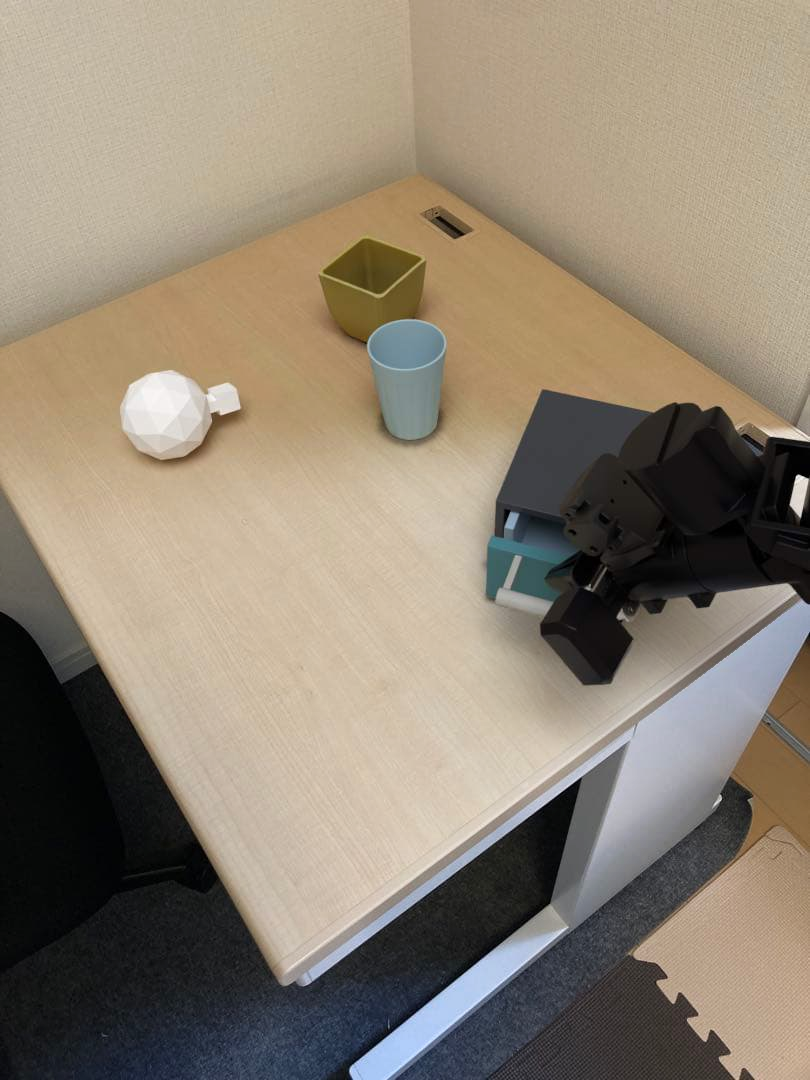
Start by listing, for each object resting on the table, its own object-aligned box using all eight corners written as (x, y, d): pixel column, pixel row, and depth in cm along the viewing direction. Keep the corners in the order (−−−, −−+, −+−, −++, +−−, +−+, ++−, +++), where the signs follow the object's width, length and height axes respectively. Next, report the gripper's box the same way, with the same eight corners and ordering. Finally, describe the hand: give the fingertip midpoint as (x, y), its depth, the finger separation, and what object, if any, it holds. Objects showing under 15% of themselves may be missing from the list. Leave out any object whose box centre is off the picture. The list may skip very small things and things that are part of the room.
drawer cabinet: (629, 601, 80) (645, 537, 73) (492, 565, 83) (495, 500, 76) (661, 484, 88) (678, 417, 81) (536, 455, 92) (542, 388, 85)
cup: (460, 408, 96) (459, 329, 88) (429, 456, 92) (425, 378, 84) (396, 389, 99) (390, 311, 91) (363, 435, 95) (353, 357, 87)
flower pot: (370, 299, 109) (364, 232, 102) (430, 323, 106) (428, 255, 99) (325, 339, 105) (315, 272, 98) (386, 365, 102) (380, 298, 95)
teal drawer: (600, 679, 74) (612, 629, 69) (467, 641, 77) (468, 590, 72) (646, 516, 85) (659, 461, 79) (527, 488, 88) (532, 433, 82)
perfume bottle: (148, 485, 89) (259, 445, 94) (122, 399, 84) (241, 362, 89) (122, 455, 96) (227, 420, 101) (97, 374, 91) (208, 341, 96)
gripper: (699, 374, 63) (543, 432, 75) (582, 560, 53) (426, 590, 66) (781, 492, 66) (618, 529, 79) (684, 687, 57) (517, 693, 69)
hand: (549, 579), depth 73 cm, fingers closed
